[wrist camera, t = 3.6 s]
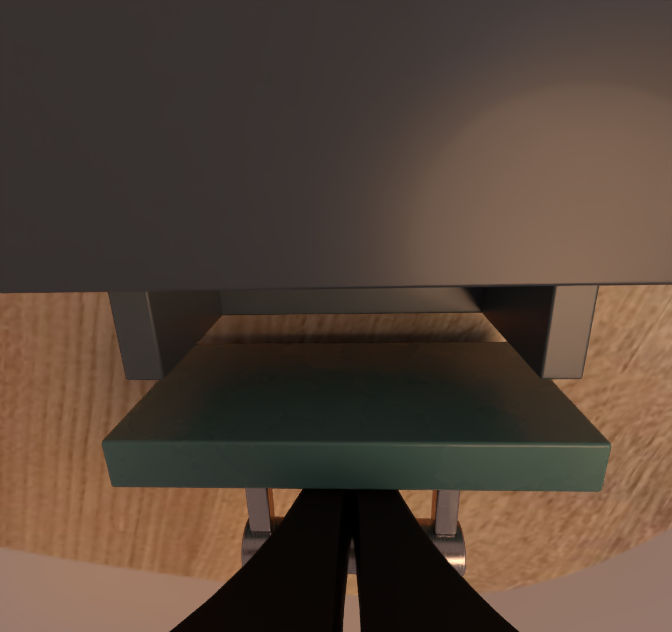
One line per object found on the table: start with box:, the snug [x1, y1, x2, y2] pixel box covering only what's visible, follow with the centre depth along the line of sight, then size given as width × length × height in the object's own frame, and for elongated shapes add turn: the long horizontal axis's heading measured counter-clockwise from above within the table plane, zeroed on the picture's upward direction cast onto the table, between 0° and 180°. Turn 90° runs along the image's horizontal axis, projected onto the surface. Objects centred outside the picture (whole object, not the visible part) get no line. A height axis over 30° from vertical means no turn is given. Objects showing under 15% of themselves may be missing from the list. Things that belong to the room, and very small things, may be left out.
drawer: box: [102, 286, 611, 576], centre depth 10 cm, size 17×10×5 cm, turn 1°
